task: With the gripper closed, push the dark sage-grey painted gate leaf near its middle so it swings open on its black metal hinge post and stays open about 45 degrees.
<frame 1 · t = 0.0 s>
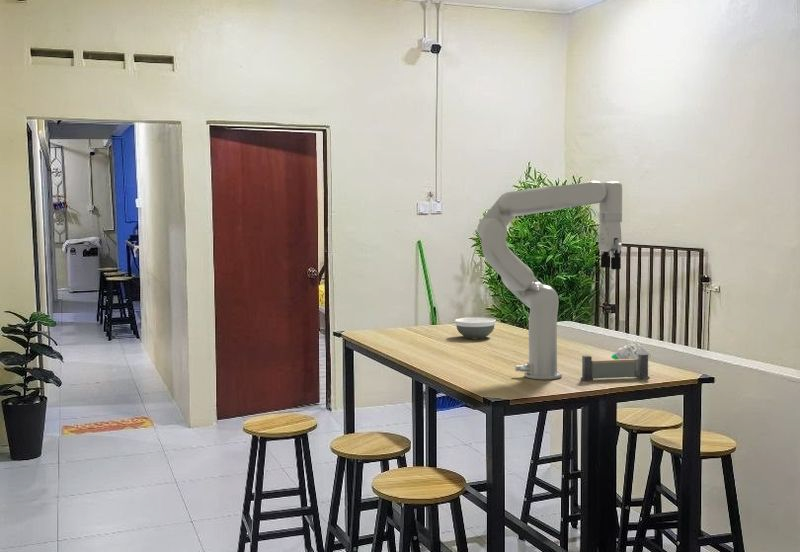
hand: (610, 268, 273), 37 cm above the table, tool pointing down, fingers open, 9 cm apart
gate posts: (636, 377, 268), on the table
gate leaf: (615, 368, 267), point 3 cm above the table, hinge at 0.0°
bowl: (475, 338, 363), on the table
crumpled plastic bottle: (628, 366, 291), on the table
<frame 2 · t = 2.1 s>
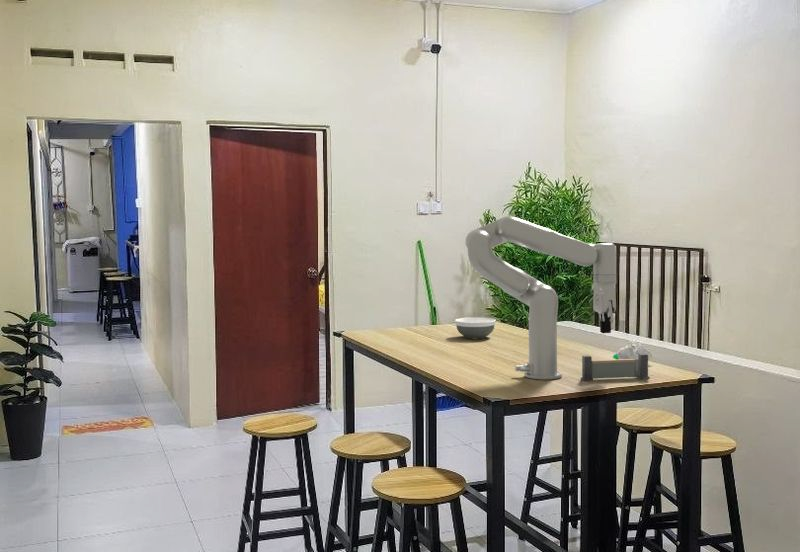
hand: (605, 332, 272), 15 cm above the table, tool pointing down, fingers closed
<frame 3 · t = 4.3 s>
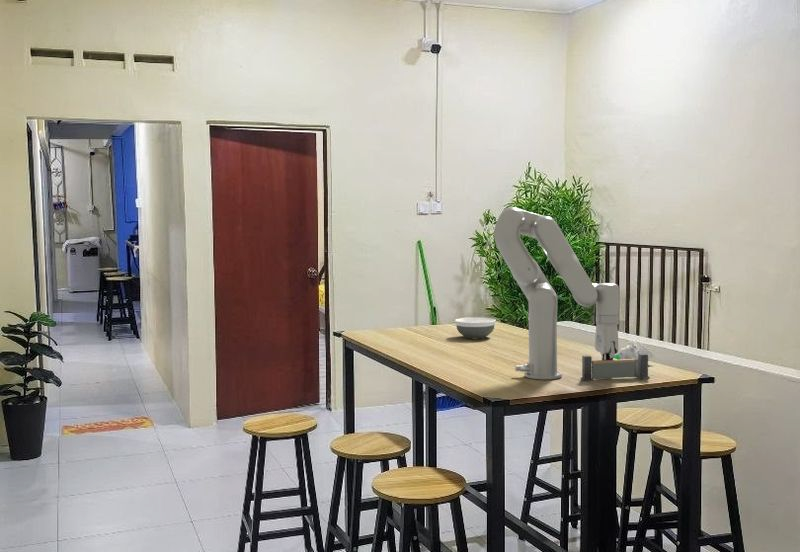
hand: (607, 373, 270), 1 cm above the table, tool pointing down, fingers closed
gate leaf: (615, 368, 267), point 3 cm above the table, hinge at 2.0°, touching gripper
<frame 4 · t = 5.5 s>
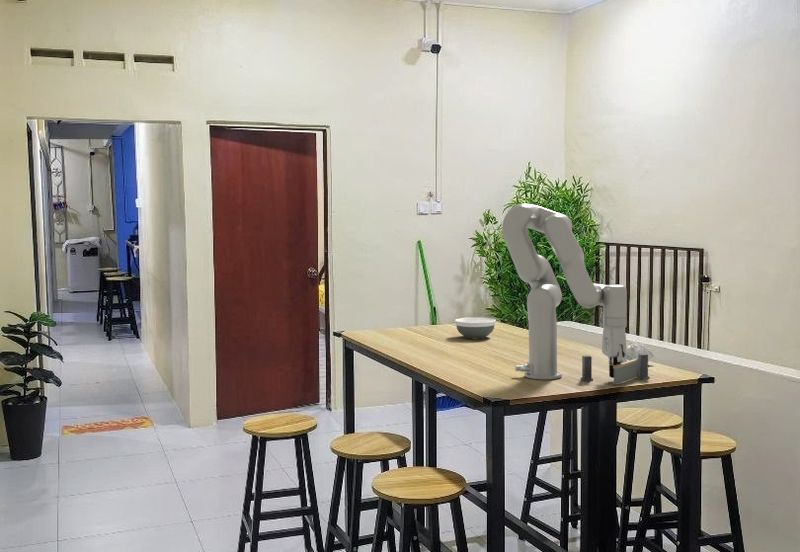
hand: (614, 377, 264), 1 cm above the table, tool pointing down, fingers closed
gate leaf: (626, 371, 262), point 3 cm above the table, hinge at 42.4°, touching gripper
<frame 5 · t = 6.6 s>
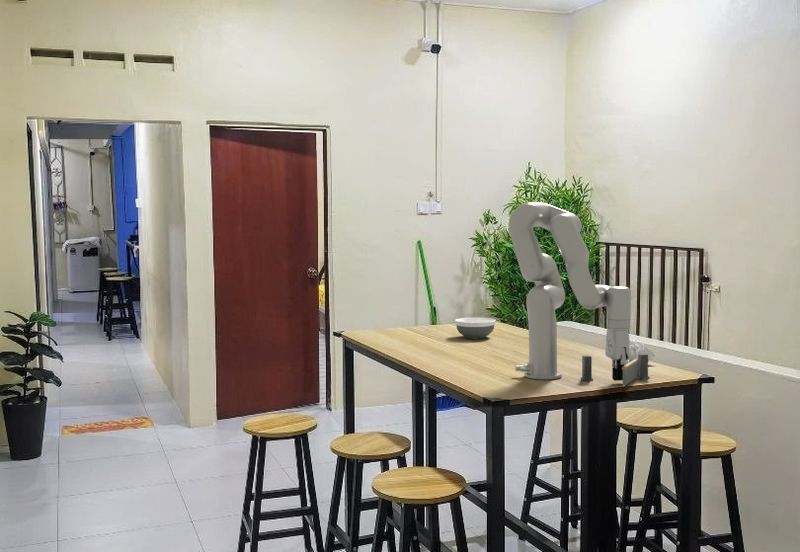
hand: (617, 379, 260), 1 cm above the table, tool pointing down, fingers closed
gate leaf: (630, 371, 262), point 3 cm above the table, hinge at 53.5°, touching gripper
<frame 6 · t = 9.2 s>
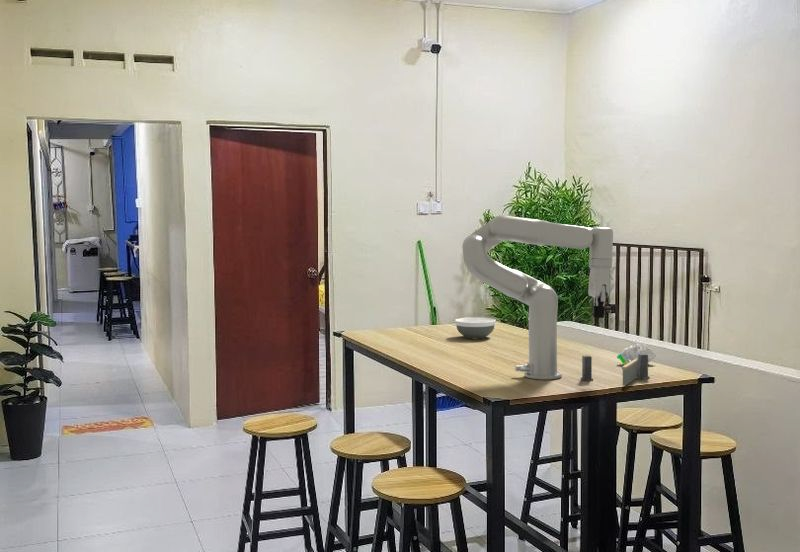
hand: (598, 317, 271), 20 cm above the table, tool pointing down, fingers closed
gate leaf: (630, 371, 262), point 3 cm above the table, hinge at 53.6°
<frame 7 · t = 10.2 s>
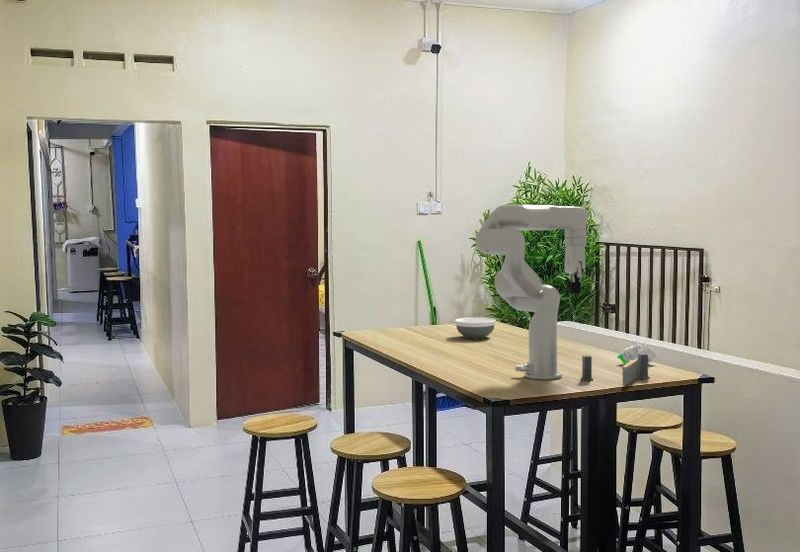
hand: (575, 292, 287), 27 cm above the table, tool pointing down, fingers closed
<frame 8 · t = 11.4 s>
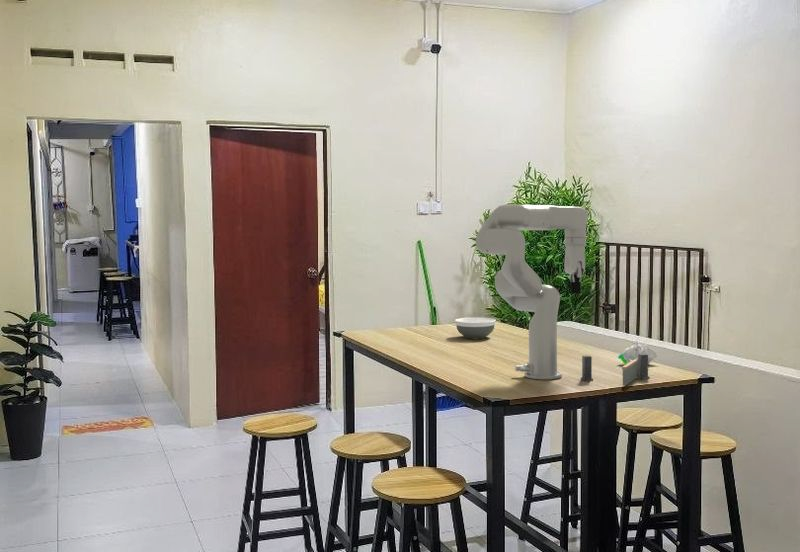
hand: (575, 293, 287), 27 cm above the table, tool pointing down, fingers closed
at the end: gate leaf at +54° (first picture: +0°); crumpled plastic bottle moved 2.5 cm from its start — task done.
